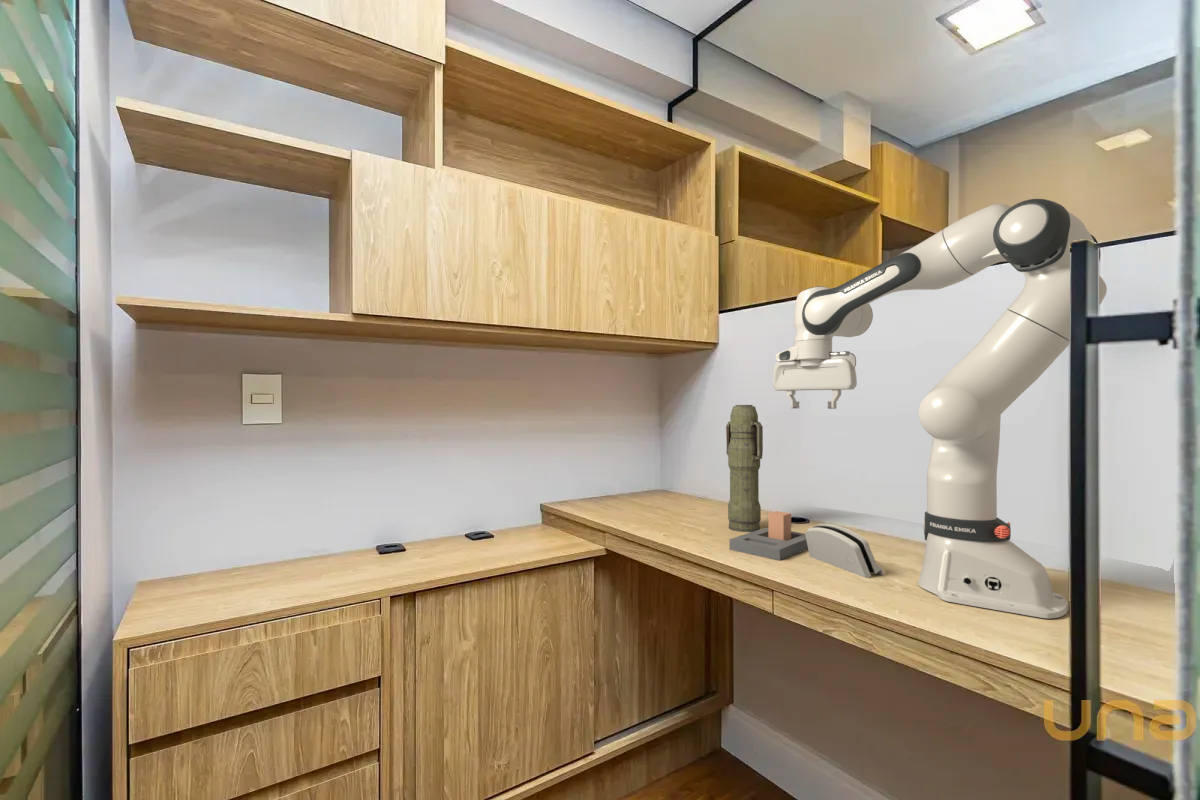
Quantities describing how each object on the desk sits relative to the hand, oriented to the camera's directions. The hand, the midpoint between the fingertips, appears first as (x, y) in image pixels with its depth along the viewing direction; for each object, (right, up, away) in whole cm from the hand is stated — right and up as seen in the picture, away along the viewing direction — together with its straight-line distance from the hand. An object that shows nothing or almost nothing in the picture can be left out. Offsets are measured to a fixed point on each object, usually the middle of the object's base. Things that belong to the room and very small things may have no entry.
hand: (813, 408), depth 136 cm
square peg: (-8, -34, 0) cm, 35 cm away
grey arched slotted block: (-1, -34, -18) cm, 39 cm away
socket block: (-11, -34, -2) cm, 36 cm away
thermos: (-12, -34, +18) cm, 41 cm away
